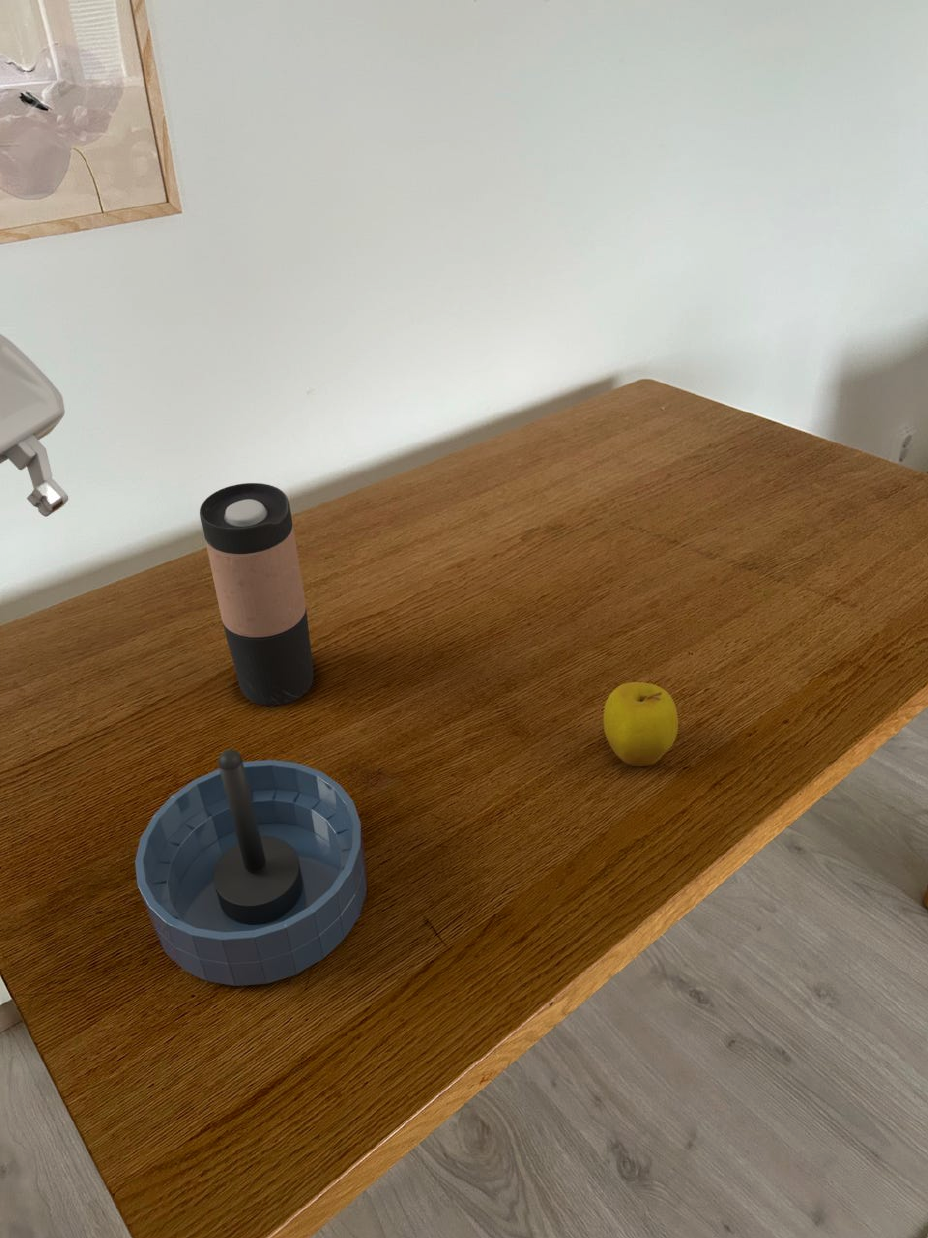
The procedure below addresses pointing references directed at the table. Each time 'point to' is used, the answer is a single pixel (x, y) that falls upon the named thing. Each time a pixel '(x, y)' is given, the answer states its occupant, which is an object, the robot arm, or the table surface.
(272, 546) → the travel mug
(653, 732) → the yellow fruit
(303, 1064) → the table surface
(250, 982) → the bowl
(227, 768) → the joystick
